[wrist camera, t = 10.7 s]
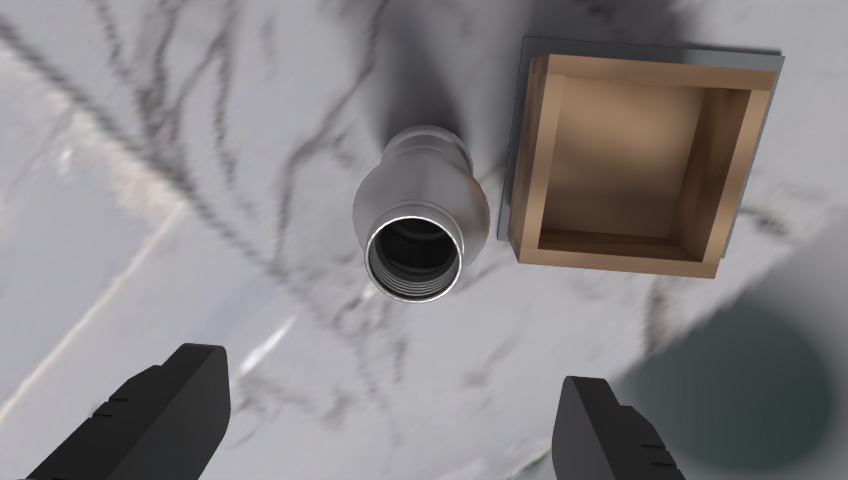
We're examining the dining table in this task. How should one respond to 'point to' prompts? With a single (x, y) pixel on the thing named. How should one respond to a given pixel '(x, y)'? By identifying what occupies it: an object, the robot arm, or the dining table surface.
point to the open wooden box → (632, 163)
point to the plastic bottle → (421, 215)
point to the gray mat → (624, 52)
